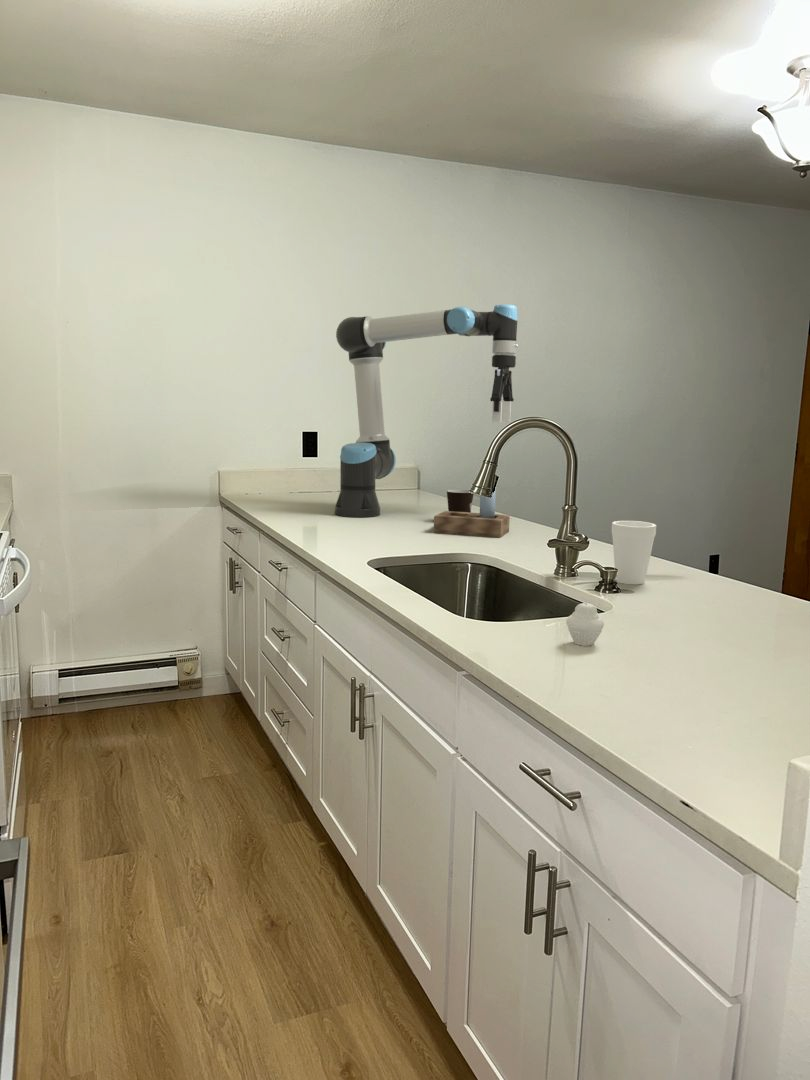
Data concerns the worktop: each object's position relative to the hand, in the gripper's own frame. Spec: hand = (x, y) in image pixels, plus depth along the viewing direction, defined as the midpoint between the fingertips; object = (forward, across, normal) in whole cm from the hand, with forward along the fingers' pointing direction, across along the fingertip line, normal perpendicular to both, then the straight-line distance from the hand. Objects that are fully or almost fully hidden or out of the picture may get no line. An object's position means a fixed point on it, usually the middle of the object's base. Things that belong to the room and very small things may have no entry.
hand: (501, 422), depth 274 cm
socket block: (+32, -30, +1) cm, 44 cm away
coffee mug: (+32, -12, +9) cm, 35 cm away
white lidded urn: (+32, -133, -46) cm, 144 cm away
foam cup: (+32, -80, -49) cm, 99 cm away
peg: (+31, -30, -4) cm, 43 cm away
